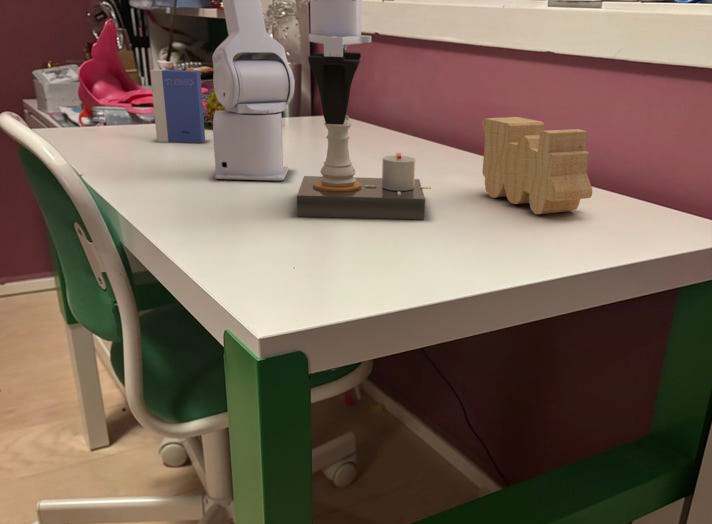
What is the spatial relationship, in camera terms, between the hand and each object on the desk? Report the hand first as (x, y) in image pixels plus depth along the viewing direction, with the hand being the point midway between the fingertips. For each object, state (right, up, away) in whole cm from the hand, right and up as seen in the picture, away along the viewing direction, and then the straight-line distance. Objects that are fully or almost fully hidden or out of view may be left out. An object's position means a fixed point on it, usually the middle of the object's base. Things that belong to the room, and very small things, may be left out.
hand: (336, 119), depth 88 cm
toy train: (+25, -8, +9) cm, 28 cm away
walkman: (-31, +10, +43) cm, 54 cm away
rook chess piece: (0, -7, +3) cm, 8 cm away
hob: (+3, -9, +5) cm, 11 cm away
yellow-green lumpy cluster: (-26, +19, +62) cm, 70 cm away
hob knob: (+7, -7, +4) cm, 11 cm away
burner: (0, -7, +3) cm, 8 cm away
